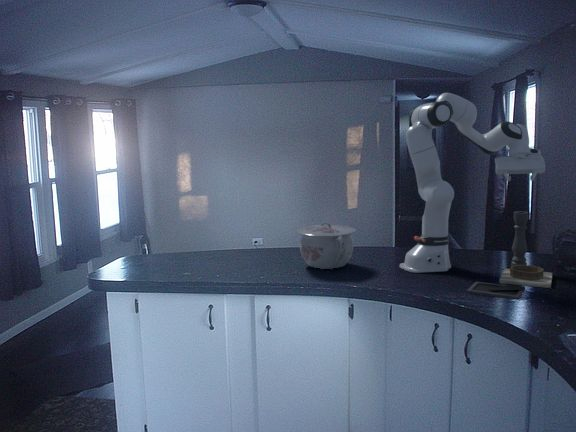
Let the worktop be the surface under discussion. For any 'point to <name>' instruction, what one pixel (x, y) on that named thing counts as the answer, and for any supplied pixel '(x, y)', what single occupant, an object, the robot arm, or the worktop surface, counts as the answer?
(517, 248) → the candle holder
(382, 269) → the worktop surface
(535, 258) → the worktop surface
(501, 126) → the robot arm
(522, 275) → the collar board
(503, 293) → the picture frame
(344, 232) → the chamber pot
